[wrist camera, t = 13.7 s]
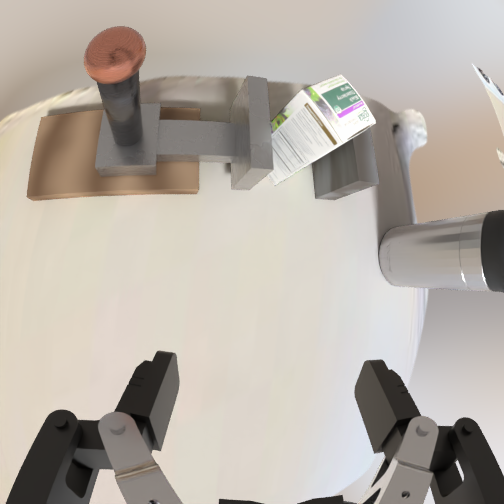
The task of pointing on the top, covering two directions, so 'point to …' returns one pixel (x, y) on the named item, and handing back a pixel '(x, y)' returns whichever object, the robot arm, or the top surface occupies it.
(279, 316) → the top surface
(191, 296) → the top surface
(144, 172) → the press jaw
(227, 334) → the top surface
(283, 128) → the syrup box
